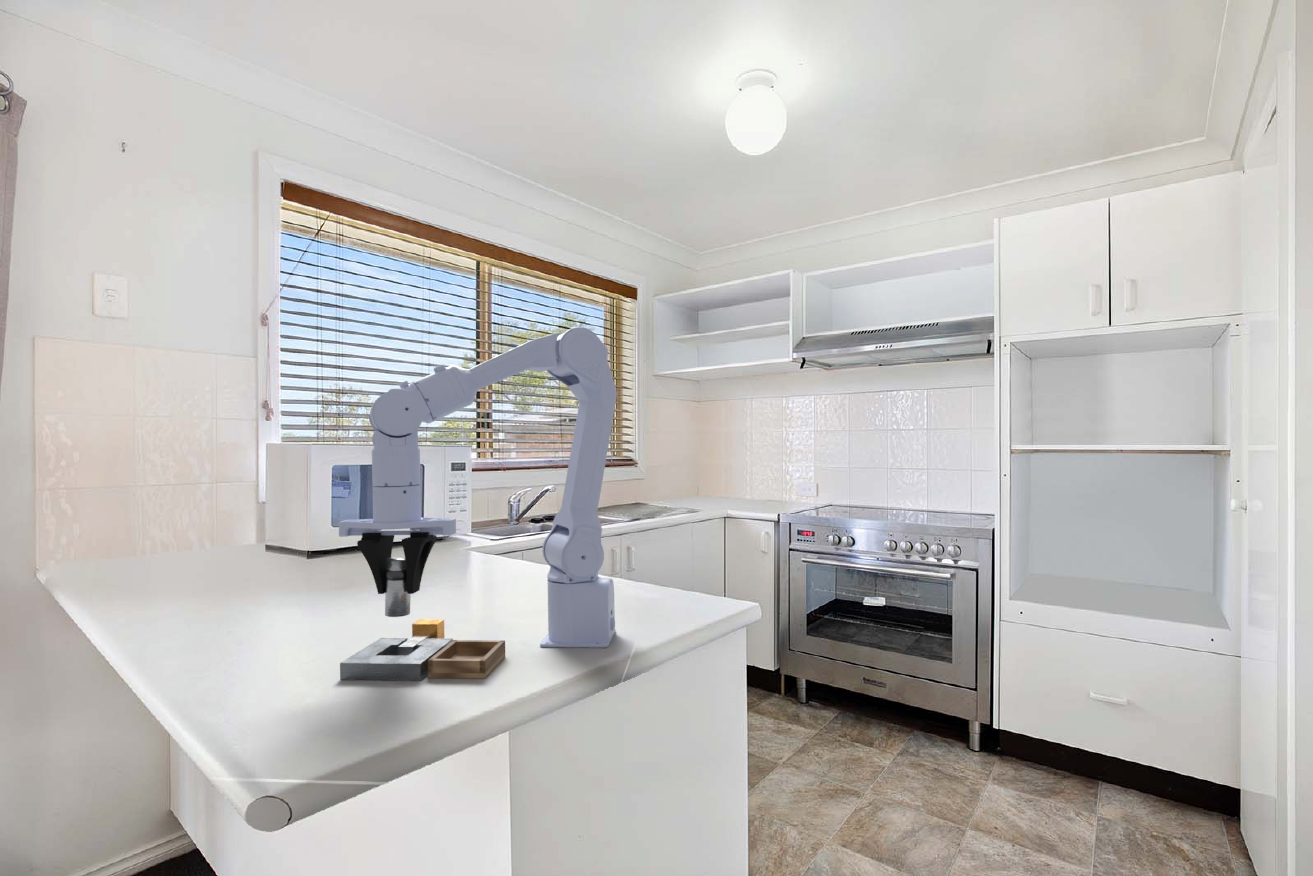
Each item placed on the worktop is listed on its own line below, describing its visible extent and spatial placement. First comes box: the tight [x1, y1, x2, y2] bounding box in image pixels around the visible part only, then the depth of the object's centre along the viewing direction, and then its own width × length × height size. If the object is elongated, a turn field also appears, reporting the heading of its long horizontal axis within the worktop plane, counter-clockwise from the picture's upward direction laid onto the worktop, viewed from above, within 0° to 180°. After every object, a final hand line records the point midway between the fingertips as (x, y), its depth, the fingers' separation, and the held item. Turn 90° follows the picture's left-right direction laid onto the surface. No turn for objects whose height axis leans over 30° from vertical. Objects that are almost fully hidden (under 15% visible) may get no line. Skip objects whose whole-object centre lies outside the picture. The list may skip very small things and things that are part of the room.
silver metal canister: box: [384, 556, 412, 618], centre depth 84 cm, size 3×3×7 cm
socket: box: [339, 637, 454, 682], centre depth 84 cm, size 10×10×2 cm
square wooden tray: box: [427, 639, 506, 679], centre depth 83 cm, size 7×8×2 cm
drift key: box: [398, 618, 445, 656], centre depth 90 cm, size 8×4×3 cm, turn 175°
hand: (398, 592), depth 84 cm, fingers closed on silver metal canister, 3 cm apart
